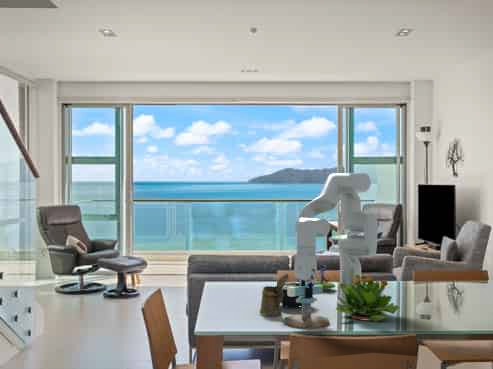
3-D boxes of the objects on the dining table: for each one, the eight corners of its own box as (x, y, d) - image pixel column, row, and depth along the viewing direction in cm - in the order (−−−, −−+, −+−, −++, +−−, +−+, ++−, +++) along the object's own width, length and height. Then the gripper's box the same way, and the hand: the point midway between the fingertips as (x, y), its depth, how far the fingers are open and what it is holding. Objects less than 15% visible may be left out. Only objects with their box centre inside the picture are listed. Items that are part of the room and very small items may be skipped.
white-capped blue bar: (317, 299, 244) (317, 283, 244) (324, 302, 239) (324, 286, 239) (285, 301, 240) (285, 286, 239) (292, 304, 234) (292, 288, 234)
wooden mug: (280, 319, 246) (280, 275, 246) (255, 314, 255) (255, 271, 254) (293, 315, 253) (293, 272, 252) (268, 310, 261) (268, 269, 261)
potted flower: (346, 326, 233) (346, 281, 233) (321, 313, 256) (321, 272, 256) (403, 322, 240) (403, 278, 240) (374, 309, 263) (374, 269, 263)
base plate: (324, 317, 249) (324, 297, 249) (333, 328, 231) (333, 307, 231) (280, 317, 248) (280, 298, 248) (287, 328, 230) (287, 308, 230)
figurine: (336, 293, 301) (337, 263, 300) (311, 292, 301) (311, 262, 301) (333, 287, 314) (333, 259, 314) (309, 287, 315) (309, 259, 315)
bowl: (314, 303, 276) (314, 281, 276) (307, 311, 260) (307, 288, 260) (277, 301, 281) (278, 279, 281) (269, 309, 264) (269, 286, 264)
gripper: (287, 249, 245) (287, 294, 245) (309, 253, 230) (309, 301, 230) (302, 248, 248) (302, 292, 248) (326, 252, 233) (325, 299, 234)
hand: (306, 296), depth 239 cm, fingers closed on white-capped blue bar, 3 cm apart
